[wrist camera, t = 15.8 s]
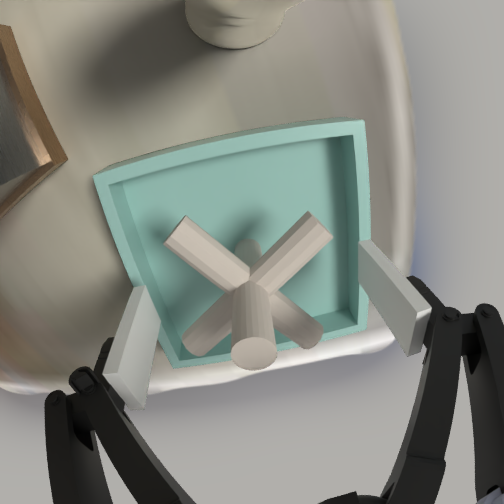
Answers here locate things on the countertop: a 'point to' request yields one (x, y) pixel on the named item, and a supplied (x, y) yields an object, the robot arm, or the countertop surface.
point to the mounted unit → (22, 129)
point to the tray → (245, 220)
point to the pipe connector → (250, 290)
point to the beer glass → (236, 20)
